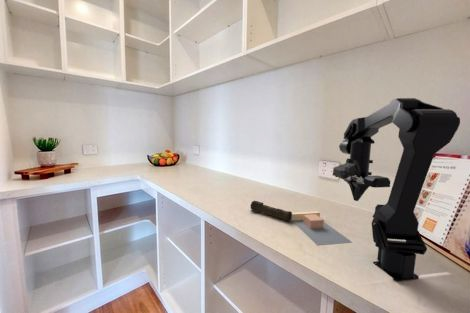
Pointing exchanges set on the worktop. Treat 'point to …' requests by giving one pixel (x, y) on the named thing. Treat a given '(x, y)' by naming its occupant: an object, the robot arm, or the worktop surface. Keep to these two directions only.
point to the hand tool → (271, 211)
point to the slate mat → (319, 231)
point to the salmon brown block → (313, 221)
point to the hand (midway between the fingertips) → (356, 200)
